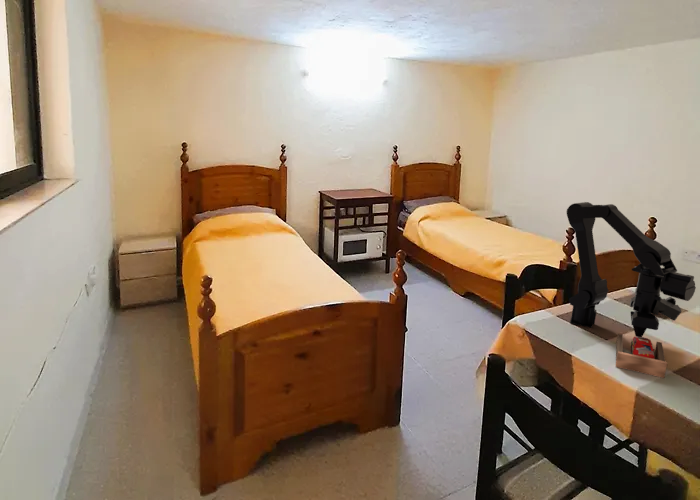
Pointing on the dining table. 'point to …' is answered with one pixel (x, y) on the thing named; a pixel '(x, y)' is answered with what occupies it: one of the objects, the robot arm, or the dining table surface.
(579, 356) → the dining table surface
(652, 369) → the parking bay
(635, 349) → the race car
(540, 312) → the dining table surface
